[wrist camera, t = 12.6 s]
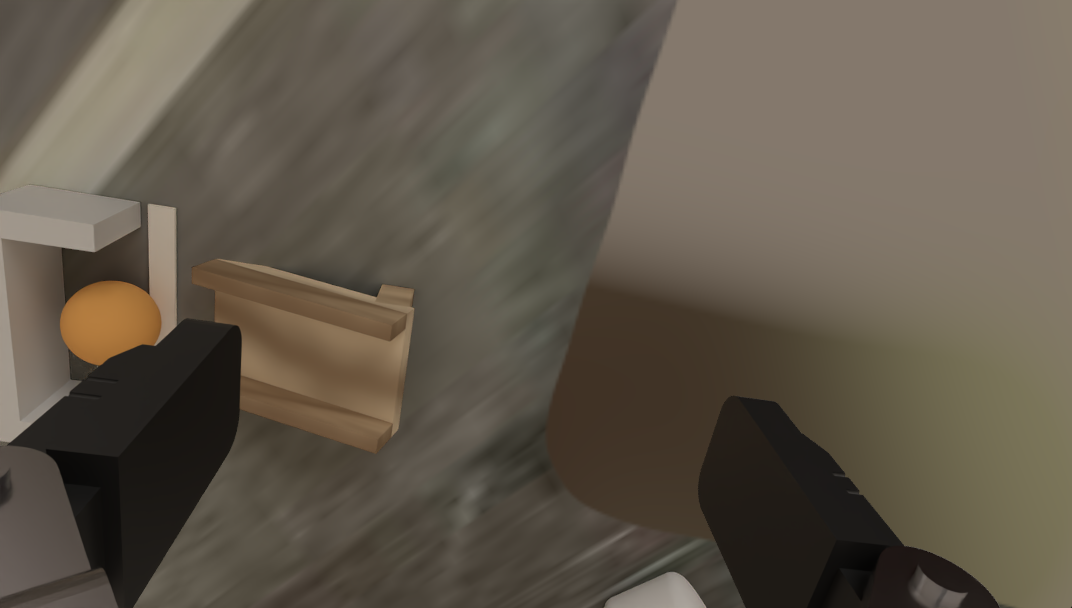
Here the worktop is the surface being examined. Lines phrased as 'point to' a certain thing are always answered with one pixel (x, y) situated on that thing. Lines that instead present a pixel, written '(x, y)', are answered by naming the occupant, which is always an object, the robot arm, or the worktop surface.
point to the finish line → (163, 264)
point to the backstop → (44, 290)
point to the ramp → (316, 350)
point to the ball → (109, 320)
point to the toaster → (659, 594)
